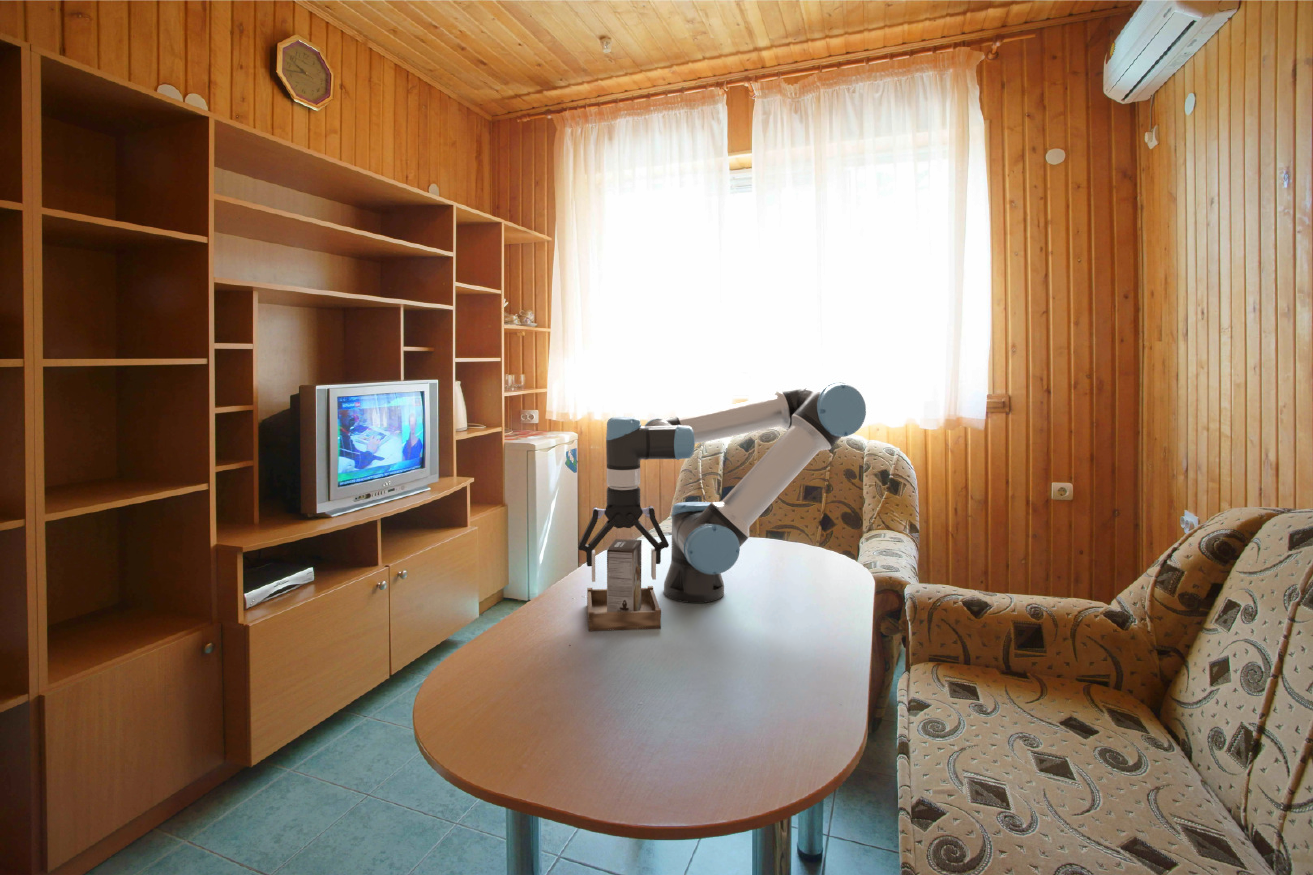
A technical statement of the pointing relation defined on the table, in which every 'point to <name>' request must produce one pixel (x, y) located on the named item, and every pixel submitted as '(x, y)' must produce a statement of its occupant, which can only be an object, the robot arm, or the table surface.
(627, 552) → the coffee box
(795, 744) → the table surface
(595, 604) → the crate
